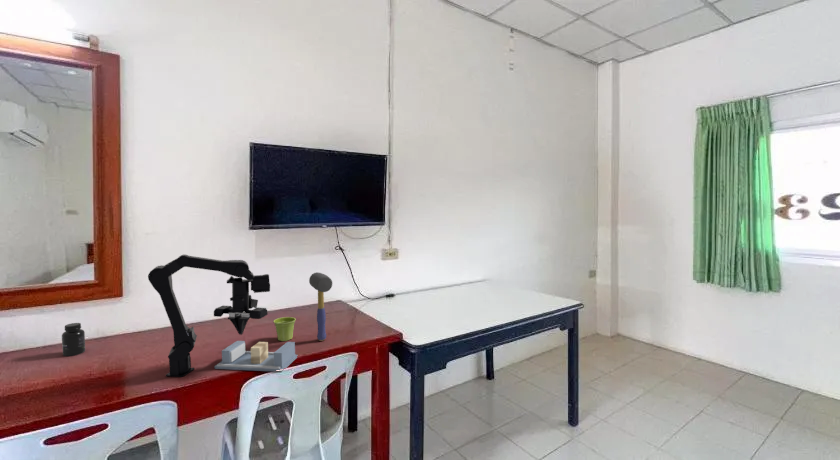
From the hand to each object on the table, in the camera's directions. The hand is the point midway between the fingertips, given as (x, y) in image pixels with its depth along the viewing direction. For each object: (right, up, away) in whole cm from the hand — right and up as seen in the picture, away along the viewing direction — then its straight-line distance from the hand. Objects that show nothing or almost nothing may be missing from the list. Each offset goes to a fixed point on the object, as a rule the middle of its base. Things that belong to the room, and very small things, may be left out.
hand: (240, 334), depth 142 cm
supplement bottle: (-72, -11, +9) cm, 74 cm away
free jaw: (-3, -10, +1) cm, 10 cm away
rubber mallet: (+25, -10, +24) cm, 35 cm away
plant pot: (+8, -9, +25) cm, 28 cm away
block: (+7, -10, 0) cm, 12 cm away
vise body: (+6, -11, 0) cm, 13 cm away
